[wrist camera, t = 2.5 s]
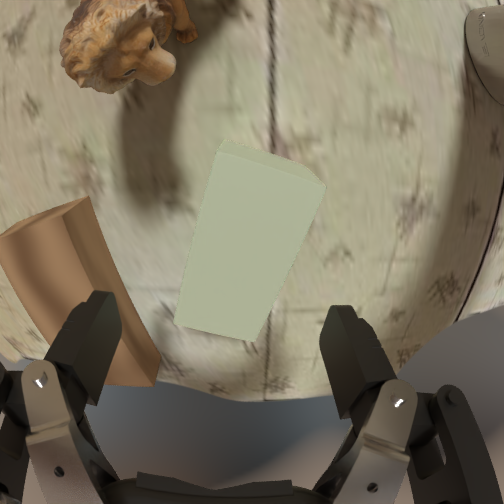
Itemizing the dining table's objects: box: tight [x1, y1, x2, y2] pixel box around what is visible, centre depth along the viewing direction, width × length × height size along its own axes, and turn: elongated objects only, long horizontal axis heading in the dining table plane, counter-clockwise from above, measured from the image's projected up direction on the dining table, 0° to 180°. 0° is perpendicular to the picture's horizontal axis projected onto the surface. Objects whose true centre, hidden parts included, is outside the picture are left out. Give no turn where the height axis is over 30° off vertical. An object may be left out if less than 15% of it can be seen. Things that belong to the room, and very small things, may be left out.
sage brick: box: [173, 139, 327, 342], centre depth 16 cm, size 5×10×5 cm, turn 162°
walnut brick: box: [0, 196, 161, 387], centre depth 19 cm, size 9×16×4 cm, turn 9°
